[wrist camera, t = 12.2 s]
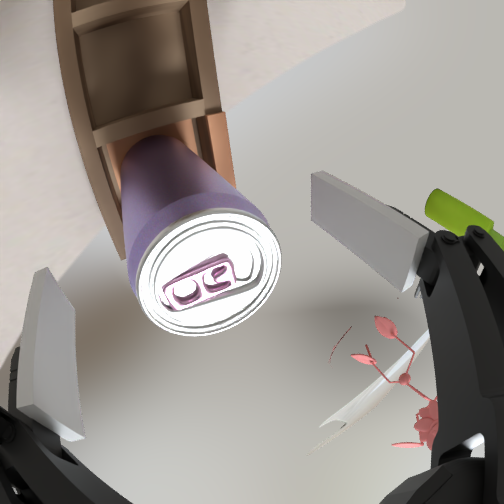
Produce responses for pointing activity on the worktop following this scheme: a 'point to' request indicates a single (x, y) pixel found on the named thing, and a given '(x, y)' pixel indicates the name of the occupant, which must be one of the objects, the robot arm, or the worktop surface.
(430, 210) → the soap dispenser
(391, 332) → the pink flower branch
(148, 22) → the can caddy
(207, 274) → the beverage can
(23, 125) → the worktop surface
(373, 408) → the worktop surface
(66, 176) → the worktop surface
